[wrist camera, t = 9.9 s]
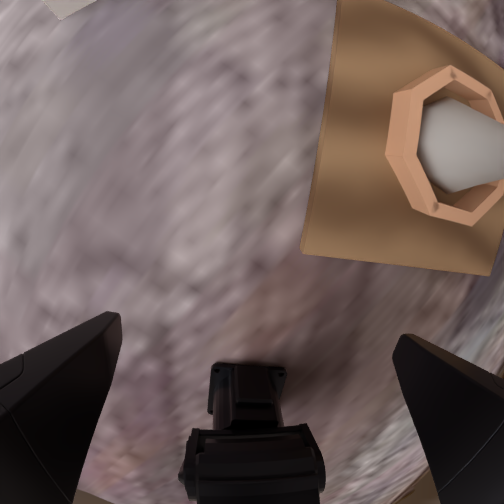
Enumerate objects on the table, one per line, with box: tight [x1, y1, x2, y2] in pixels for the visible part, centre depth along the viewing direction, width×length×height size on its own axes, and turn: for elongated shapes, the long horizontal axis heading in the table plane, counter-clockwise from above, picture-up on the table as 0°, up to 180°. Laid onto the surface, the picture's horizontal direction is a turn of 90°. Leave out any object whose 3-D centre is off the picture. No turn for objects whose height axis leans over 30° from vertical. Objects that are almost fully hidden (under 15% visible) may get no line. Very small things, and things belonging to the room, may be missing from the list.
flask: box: [416, 96, 504, 194], centre depth 14 cm, size 7×7×10 cm
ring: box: [385, 65, 504, 227], centre depth 17 cm, size 11×11×2 cm
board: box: [300, 0, 504, 276], centre depth 19 cm, size 20×20×1 cm
